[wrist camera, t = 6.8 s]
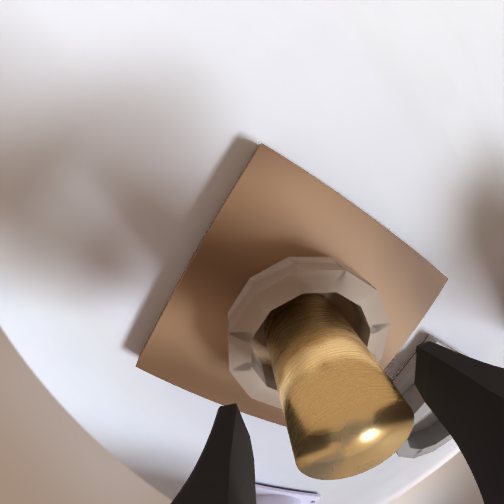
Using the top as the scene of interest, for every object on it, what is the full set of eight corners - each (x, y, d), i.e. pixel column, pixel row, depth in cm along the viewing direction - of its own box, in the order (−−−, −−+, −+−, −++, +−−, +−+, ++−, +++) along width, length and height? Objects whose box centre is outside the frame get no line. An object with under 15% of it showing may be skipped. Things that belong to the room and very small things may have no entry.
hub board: (319, 427, 19) (330, 457, 16) (139, 356, 17) (127, 388, 14) (438, 273, 17) (468, 291, 14) (259, 144, 14) (268, 139, 11)
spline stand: (415, 443, 22) (429, 465, 19) (348, 429, 20) (361, 457, 17) (481, 367, 20) (501, 386, 17) (429, 334, 18) (453, 356, 15)
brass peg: (344, 346, 16) (410, 452, 9) (274, 368, 16) (306, 491, 9) (333, 281, 15) (417, 378, 8) (254, 306, 15) (283, 428, 7)
